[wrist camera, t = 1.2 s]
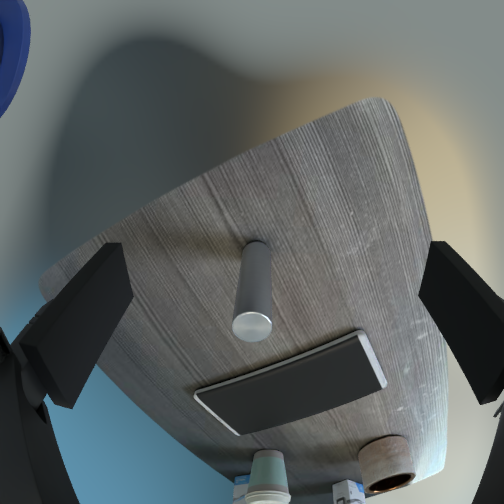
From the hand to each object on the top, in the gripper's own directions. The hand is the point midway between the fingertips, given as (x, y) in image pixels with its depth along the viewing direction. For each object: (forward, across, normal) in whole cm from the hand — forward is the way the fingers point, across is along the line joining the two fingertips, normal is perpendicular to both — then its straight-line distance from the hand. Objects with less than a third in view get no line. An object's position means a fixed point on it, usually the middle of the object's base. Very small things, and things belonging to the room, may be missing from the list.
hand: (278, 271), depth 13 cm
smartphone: (+21, +3, -32) cm, 38 cm away
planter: (+21, +24, -55) cm, 64 cm away
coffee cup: (+21, 0, -55) cm, 59 cm away
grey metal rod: (+20, -2, -9) cm, 22 cm away
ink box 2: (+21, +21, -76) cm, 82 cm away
